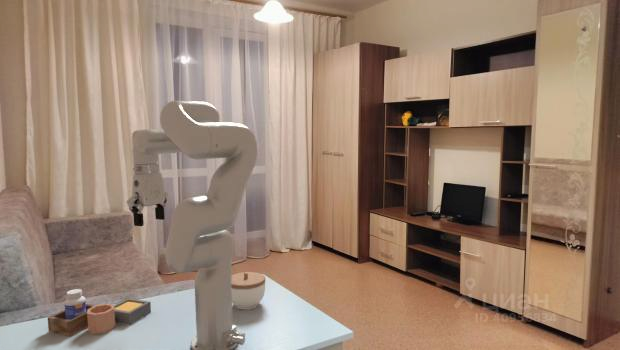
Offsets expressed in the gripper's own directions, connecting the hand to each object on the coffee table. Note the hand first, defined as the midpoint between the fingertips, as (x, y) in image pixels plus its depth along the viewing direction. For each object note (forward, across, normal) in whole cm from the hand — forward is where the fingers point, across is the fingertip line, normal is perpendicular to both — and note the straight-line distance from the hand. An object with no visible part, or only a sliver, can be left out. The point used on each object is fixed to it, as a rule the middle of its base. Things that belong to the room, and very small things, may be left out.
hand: (149, 222), depth 133 cm
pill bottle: (+28, -18, +13) cm, 36 cm away
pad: (+26, -8, +3) cm, 27 cm away
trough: (+28, -18, +14) cm, 36 cm away
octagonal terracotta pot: (+28, -17, +4) cm, 33 cm away
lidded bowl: (+28, +11, -28) cm, 41 cm away
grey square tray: (+28, -8, +3) cm, 30 cm away
